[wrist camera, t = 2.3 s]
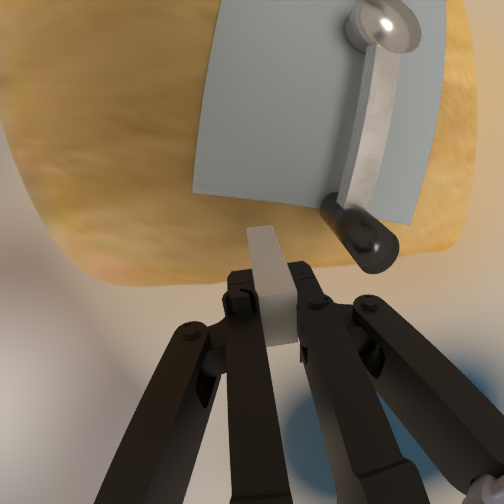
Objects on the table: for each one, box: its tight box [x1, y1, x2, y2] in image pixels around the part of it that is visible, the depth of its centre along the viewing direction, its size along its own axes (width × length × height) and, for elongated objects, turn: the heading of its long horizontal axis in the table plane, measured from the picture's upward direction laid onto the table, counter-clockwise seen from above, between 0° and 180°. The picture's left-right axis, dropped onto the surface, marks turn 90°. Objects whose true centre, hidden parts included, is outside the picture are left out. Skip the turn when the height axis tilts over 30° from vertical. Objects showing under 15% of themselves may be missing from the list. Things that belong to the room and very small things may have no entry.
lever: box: [320, 0, 422, 274], centre depth 12 cm, size 25×4×7 cm, turn 171°
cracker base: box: [192, 0, 446, 225], centre depth 15 cm, size 25×18×3 cm
